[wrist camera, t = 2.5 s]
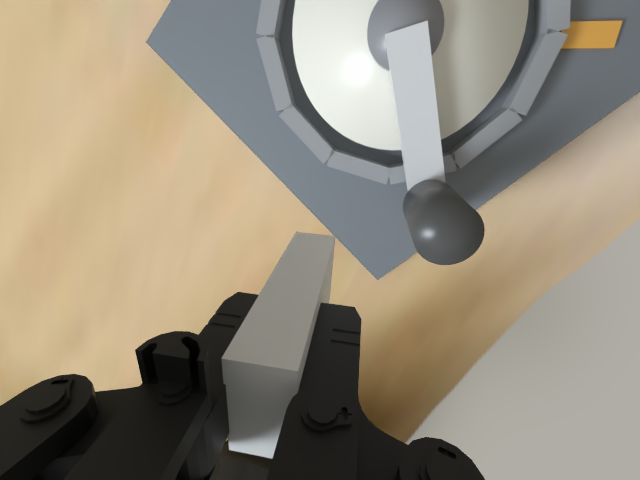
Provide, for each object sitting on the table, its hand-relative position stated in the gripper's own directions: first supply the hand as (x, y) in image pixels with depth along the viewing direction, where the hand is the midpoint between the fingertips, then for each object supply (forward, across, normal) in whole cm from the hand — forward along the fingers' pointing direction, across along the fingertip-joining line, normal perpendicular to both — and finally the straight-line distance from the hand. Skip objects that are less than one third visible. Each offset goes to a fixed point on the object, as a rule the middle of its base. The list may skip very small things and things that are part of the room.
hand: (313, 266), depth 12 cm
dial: (+14, +4, +7) cm, 16 cm away
